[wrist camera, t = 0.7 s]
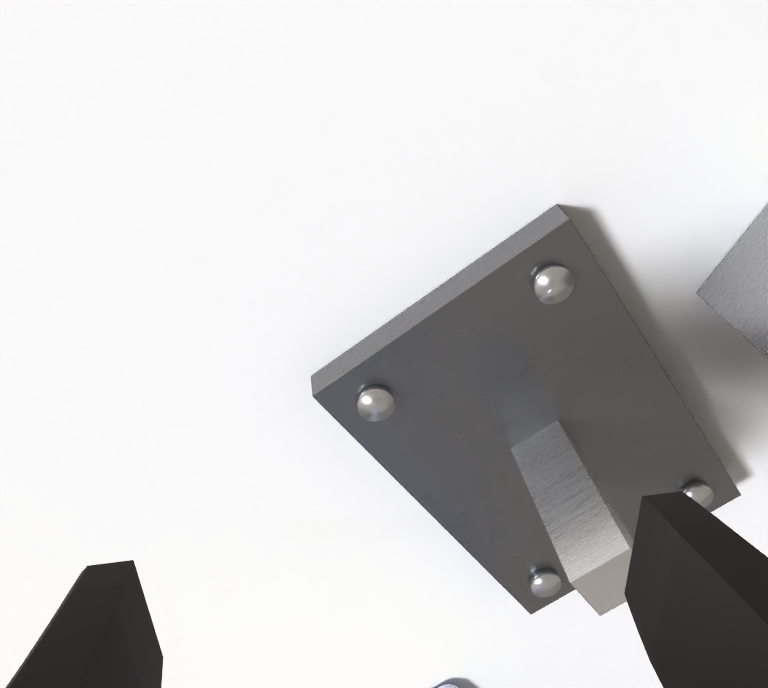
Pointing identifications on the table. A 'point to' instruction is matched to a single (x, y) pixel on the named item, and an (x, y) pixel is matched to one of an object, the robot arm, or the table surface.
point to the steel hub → (744, 285)
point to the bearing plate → (527, 416)
